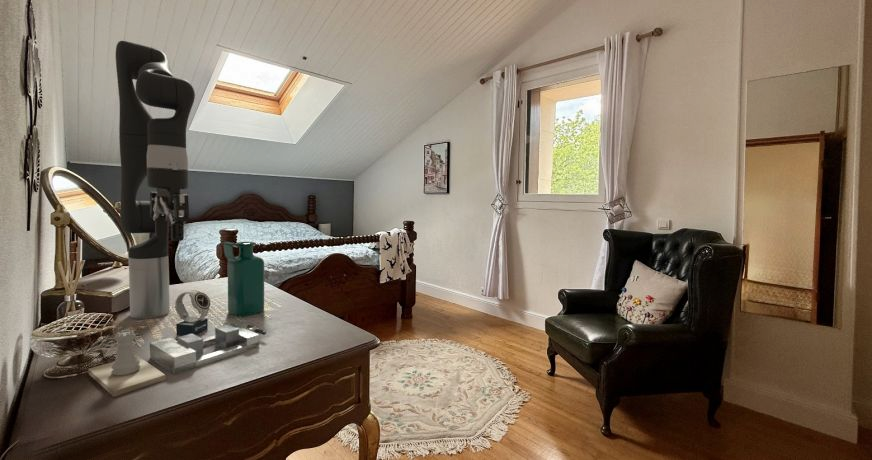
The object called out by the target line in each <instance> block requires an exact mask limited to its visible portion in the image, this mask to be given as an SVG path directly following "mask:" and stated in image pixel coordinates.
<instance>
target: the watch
mask: <svg viewBox="0 0 872 460" xmlns="http://www.w3.org/2000/svg"><path fill="white" fill-rule="evenodd" d="M186 295H189V298H190V302H191V305H192V307H193V309H195V310H196V311H197V312H198V314H199V315H200V316H199V317H194V316H193V317H190V314H189V312H188V311H187V309H186V306H185V304H184V303H183V299H184V297H185V296H186ZM174 303H175V304H174V305H175V306H174V308H175V311H176V313H177V316H178V317H179V319H180V320H182V321H179V322H178V323H176V328H175V329H176V331H175V332H176V337H181V336H185V335H188V334H194V335H196V336H199V335H200V334H202V333H204V332H206V331H207V330H208V328H209V325H208V324H209V323H208V318H207V315H208V314H209V311H210V307H211V299H210V297H209V296H208V295H207V294H206V293H205V292H202V291H200V290H195V289H193V290H188V291H185V292H182V293H180V294H179V295H178V296H177V297H176V299H175V302H174Z"/></svg>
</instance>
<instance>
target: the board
mask: <svg viewBox="0 0 872 460" xmlns="http://www.w3.org/2000/svg"><path fill="white" fill-rule="evenodd" d="M136 356H137V359H139V361H140V363H139V365H140V368H139V369H138V370H137V371H136V372H134V373H132V374H129V375H124V376H115V375H114V374H112V373H111V372H112V370H113V369H112V365H113V364H114V363H115V361H112V362H108V363H104V364H101V365H98V366H93V367H91V368H88V369H87V372H88V373H87V374H88V375H89V376H90V377H91V378H92V379H93V380H94V381H96V382H97V384H99V385H100V386H101V387H102V388H103V389H104V390H105V391H107V392H108V393H109V394H110V395H111V396H112V397H113V398H114V397H117V396H120V395H124V394H126V393H130V392H132V391H136V390H138V389H140V388H144V387H148V386H149V385H153V384H156V383H160V382H163V381H165V380H166V374H165V373H163V372H162V371H160V370H159V369H158V368H157V367H154V366H153V365H151V364H150V363H149V362H147V361H146V360H144V359H143V358H141V357H140V356H139V355H136Z"/></svg>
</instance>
